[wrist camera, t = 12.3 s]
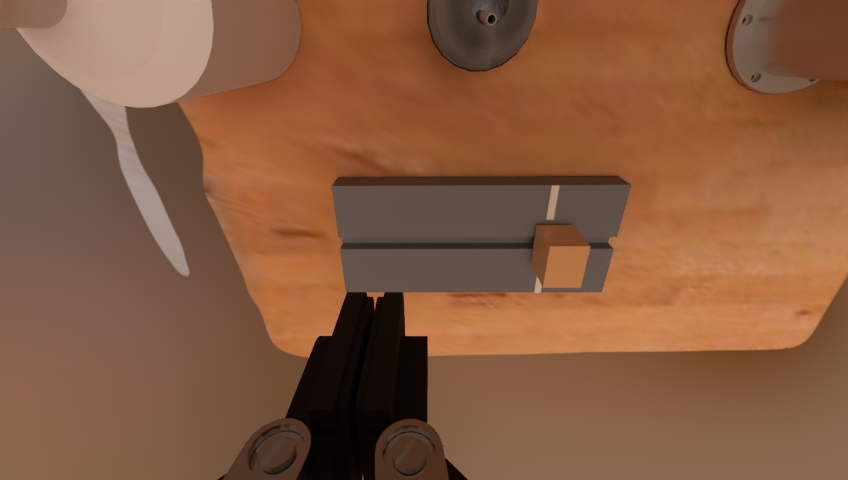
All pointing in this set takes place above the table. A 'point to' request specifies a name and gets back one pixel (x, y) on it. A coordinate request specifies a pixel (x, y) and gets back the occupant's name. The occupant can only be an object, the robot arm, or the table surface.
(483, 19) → the beverage cup
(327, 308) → the table surface
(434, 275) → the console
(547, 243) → the slider tab
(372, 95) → the table surface
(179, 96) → the bottle
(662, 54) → the table surface
